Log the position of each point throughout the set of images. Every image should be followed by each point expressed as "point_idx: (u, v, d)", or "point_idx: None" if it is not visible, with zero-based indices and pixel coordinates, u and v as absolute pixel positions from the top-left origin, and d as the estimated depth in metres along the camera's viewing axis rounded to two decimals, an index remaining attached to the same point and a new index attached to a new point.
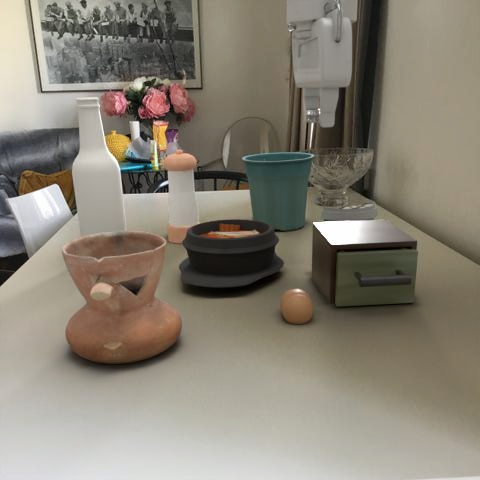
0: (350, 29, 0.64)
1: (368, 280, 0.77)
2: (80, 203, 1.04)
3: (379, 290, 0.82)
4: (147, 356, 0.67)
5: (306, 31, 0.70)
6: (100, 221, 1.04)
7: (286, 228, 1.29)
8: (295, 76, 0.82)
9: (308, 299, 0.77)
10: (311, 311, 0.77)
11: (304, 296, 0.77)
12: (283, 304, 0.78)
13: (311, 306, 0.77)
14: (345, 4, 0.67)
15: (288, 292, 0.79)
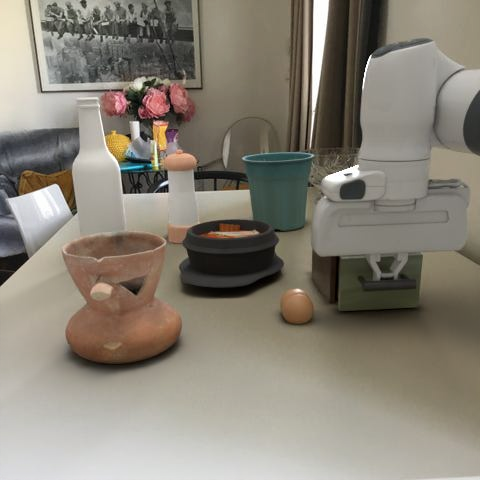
0: None
1: (372, 284, 0.75)
2: (80, 203, 1.04)
3: (383, 294, 0.80)
4: (147, 356, 0.67)
5: (412, 205, 0.71)
6: (100, 221, 1.04)
7: (286, 228, 1.29)
8: (325, 245, 0.73)
9: (308, 299, 0.77)
10: (311, 311, 0.77)
11: (304, 296, 0.77)
12: (283, 304, 0.78)
13: (311, 306, 0.77)
14: None
15: (288, 292, 0.79)
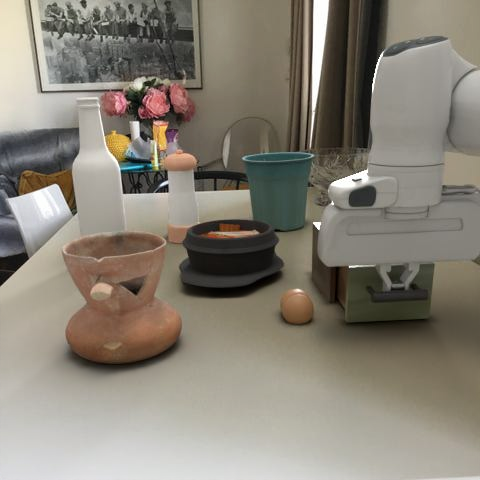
0: None
1: (381, 295, 0.71)
2: (80, 203, 1.04)
3: (392, 305, 0.76)
4: (147, 356, 0.67)
5: (425, 212, 0.67)
6: (100, 221, 1.04)
7: (286, 228, 1.29)
8: (333, 255, 0.69)
9: (308, 299, 0.77)
10: (311, 311, 0.77)
11: (304, 296, 0.77)
12: (283, 304, 0.78)
13: (311, 306, 0.77)
14: None
15: (288, 292, 0.79)
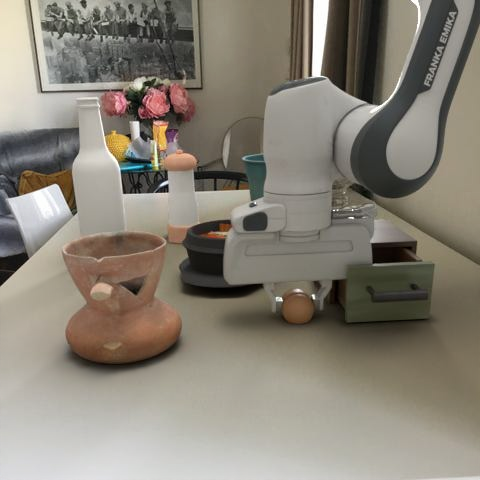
0: None
1: (381, 295, 0.71)
2: (80, 203, 1.04)
3: (392, 305, 0.76)
4: (147, 356, 0.67)
5: (316, 235, 0.73)
6: (100, 221, 1.04)
7: None
8: (234, 274, 0.75)
9: (308, 299, 0.77)
10: (311, 311, 0.77)
11: (304, 296, 0.77)
12: (283, 304, 0.78)
13: (311, 306, 0.77)
14: None
15: (288, 292, 0.79)
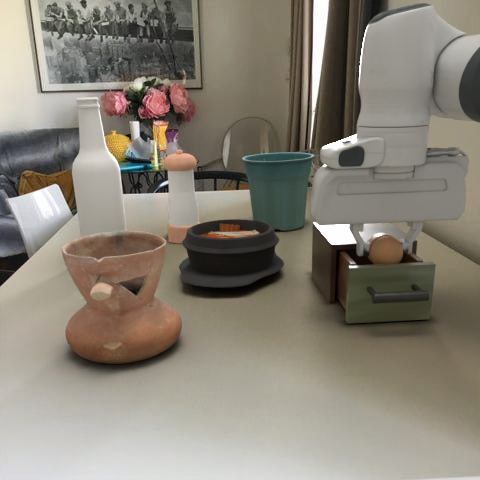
0: None
1: (382, 296, 0.71)
2: (80, 203, 1.04)
3: (393, 306, 0.76)
4: (147, 356, 0.67)
5: (411, 172, 0.71)
6: (100, 221, 1.04)
7: (286, 228, 1.29)
8: (324, 214, 0.73)
9: (398, 241, 0.75)
10: (401, 253, 0.75)
11: (394, 238, 0.75)
12: (371, 247, 0.76)
13: (401, 248, 0.75)
14: None
15: (375, 235, 0.77)
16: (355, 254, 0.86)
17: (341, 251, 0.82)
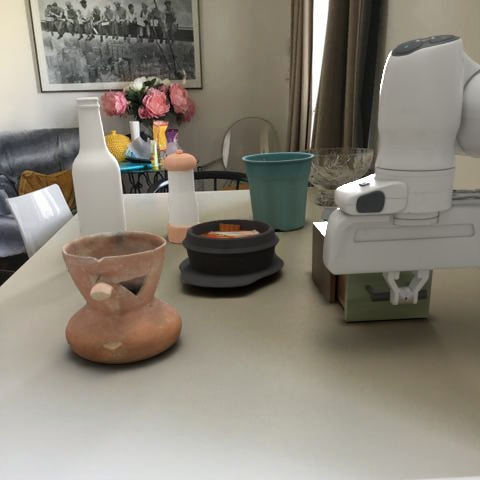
0: None
1: (381, 294, 0.71)
2: (80, 203, 1.04)
3: (391, 304, 0.77)
4: (147, 356, 0.67)
5: (435, 218, 0.65)
6: (100, 221, 1.04)
7: (286, 228, 1.29)
8: (340, 263, 0.66)
9: None
10: None
11: None
12: None
13: None
14: None
15: None
16: None
17: None
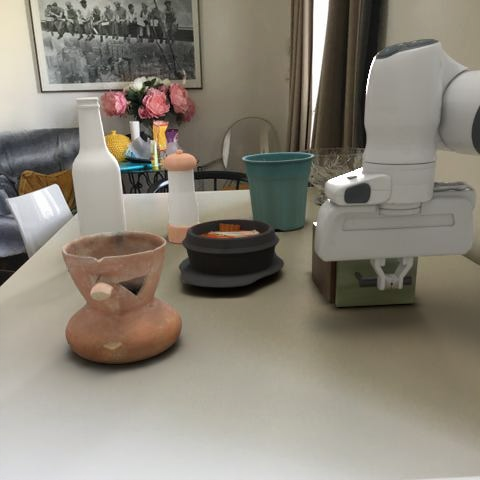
0: None
1: (368, 280, 0.77)
2: (80, 203, 1.04)
3: (379, 290, 0.82)
4: (147, 356, 0.67)
5: (418, 208, 0.70)
6: (100, 221, 1.04)
7: (286, 228, 1.29)
8: (330, 250, 0.72)
9: None
10: None
11: None
12: None
13: None
14: None
15: None
16: None
17: None
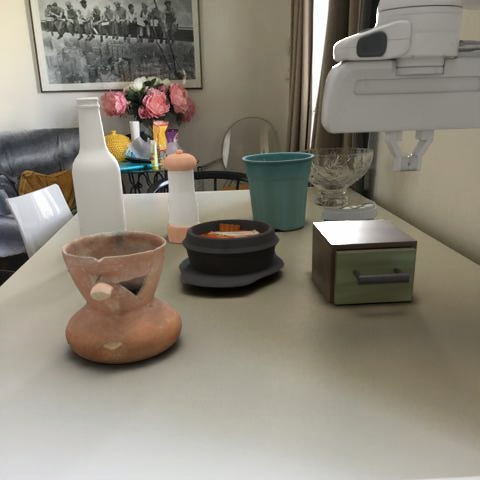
0: None
1: (366, 278, 0.78)
2: (80, 203, 1.04)
3: (377, 288, 0.83)
4: (147, 356, 0.67)
5: (441, 67, 0.61)
6: (100, 221, 1.04)
7: (286, 228, 1.29)
8: (339, 119, 0.63)
9: None
10: None
11: None
12: None
13: None
14: None
15: None
16: None
17: None
